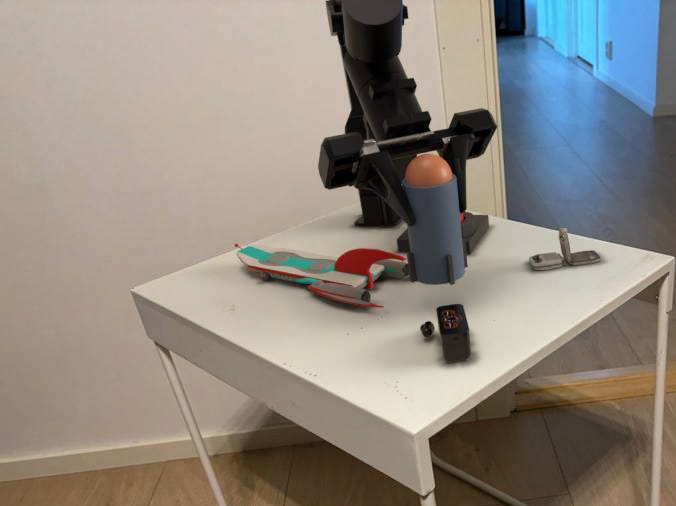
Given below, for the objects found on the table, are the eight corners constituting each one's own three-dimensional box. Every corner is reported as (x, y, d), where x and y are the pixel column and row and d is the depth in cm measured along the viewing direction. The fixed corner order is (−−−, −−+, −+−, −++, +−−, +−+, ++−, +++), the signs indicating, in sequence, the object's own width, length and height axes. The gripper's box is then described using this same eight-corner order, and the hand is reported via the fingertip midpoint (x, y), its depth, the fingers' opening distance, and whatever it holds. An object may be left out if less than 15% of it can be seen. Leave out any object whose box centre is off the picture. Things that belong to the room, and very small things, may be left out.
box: (422, 225, 103) (419, 202, 101) (489, 227, 100) (487, 202, 99) (398, 252, 95) (394, 227, 93) (470, 254, 92) (468, 228, 90)
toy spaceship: (205, 297, 91) (192, 259, 88) (265, 263, 99) (254, 227, 97) (384, 313, 78) (374, 269, 76) (434, 273, 87) (426, 232, 84)
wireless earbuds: (464, 327, 75) (461, 299, 73) (472, 361, 69) (469, 331, 67) (420, 333, 75) (416, 305, 73) (424, 367, 69) (421, 338, 67)
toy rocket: (398, 271, 79) (382, 154, 72) (453, 256, 82) (442, 141, 75) (423, 293, 74) (408, 168, 67) (481, 276, 76) (472, 154, 70)
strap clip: (533, 272, 86) (532, 238, 84) (527, 262, 89) (526, 230, 86) (601, 262, 87) (602, 229, 85) (593, 253, 90) (594, 221, 87)
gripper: (444, 121, 87) (494, 233, 84) (295, 150, 80) (343, 273, 77) (469, 58, 77) (526, 183, 74) (300, 85, 70) (356, 224, 67)
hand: (438, 217), depth 73 cm, fingers closed on toy rocket, 5 cm apart
